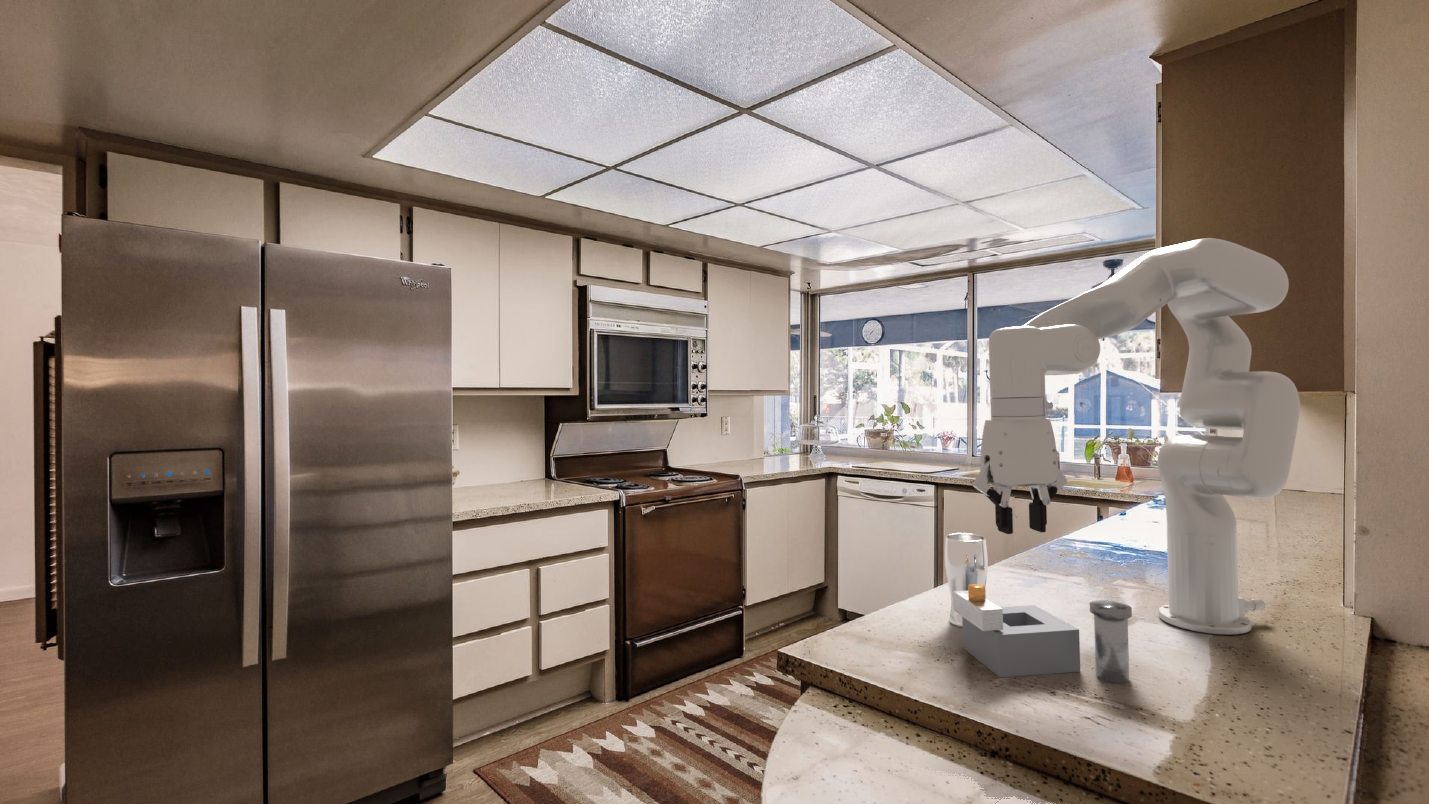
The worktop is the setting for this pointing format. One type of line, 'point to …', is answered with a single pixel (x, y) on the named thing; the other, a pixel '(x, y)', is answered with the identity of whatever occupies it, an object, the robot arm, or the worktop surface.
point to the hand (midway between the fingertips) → (1021, 530)
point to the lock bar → (978, 608)
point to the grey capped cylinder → (1111, 640)
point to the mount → (1025, 643)
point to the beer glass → (964, 565)
